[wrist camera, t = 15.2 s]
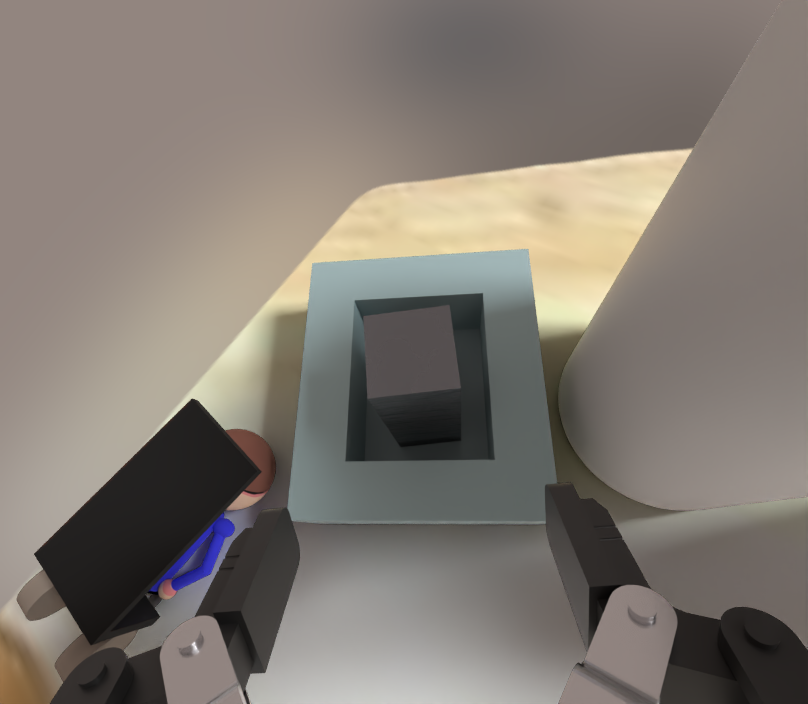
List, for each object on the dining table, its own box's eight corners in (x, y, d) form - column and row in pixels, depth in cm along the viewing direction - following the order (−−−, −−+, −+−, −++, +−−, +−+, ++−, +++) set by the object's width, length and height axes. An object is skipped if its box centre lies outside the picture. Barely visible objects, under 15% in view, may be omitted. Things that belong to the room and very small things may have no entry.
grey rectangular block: (461, 440, 29) (461, 387, 19) (400, 447, 29) (367, 398, 19) (450, 355, 31) (444, 268, 21) (393, 362, 31) (361, 279, 21)
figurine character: (151, 663, 28) (311, 476, 30) (33, 721, 21) (252, 470, 23) (97, 582, 30) (249, 412, 32) (-26, 609, 23) (178, 389, 25)
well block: (517, 296, 33) (528, 248, 28) (541, 524, 27) (561, 521, 22) (335, 306, 35) (312, 263, 29) (319, 523, 29) (286, 520, 23)
